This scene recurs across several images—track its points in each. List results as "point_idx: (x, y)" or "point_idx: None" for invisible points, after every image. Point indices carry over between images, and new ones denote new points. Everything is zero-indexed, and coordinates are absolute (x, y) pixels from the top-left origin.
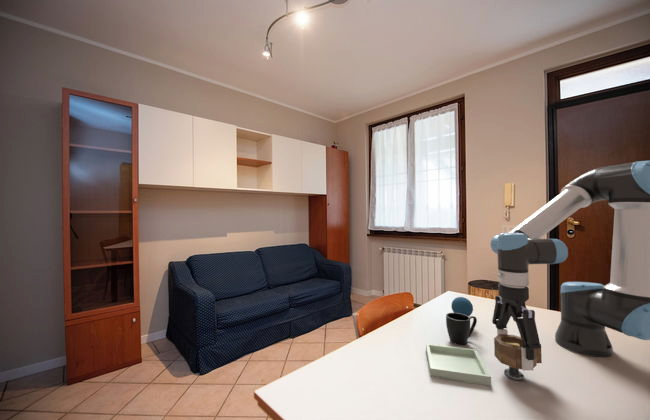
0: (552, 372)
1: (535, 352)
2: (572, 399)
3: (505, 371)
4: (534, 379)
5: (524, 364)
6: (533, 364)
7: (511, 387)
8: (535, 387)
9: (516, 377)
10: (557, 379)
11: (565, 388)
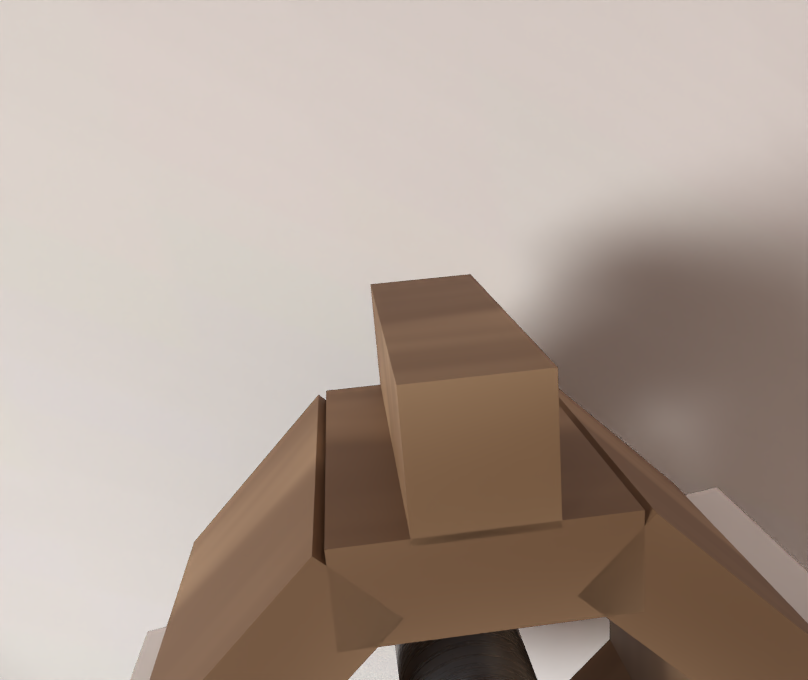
0: (211, 4)
1: (650, 488)
2: (762, 97)
3: None
4: None
5: None
6: (656, 473)
7: None
8: (602, 376)
9: None
10: (382, 36)
11: (567, 51)
